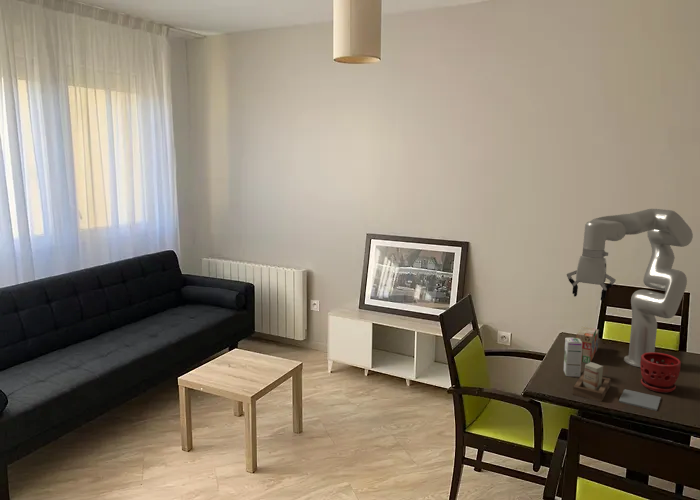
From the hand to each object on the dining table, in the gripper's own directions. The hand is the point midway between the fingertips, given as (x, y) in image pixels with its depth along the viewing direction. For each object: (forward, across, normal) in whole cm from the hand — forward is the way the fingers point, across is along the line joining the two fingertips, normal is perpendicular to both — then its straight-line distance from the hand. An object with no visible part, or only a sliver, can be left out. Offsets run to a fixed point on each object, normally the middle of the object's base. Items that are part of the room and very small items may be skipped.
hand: (588, 297), depth 209 cm
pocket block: (+33, -6, +9) cm, 35 cm away
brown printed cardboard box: (+32, +3, -31) cm, 45 cm away
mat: (+33, -22, +9) cm, 40 cm away
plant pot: (+32, -26, -7) cm, 42 cm away
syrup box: (+33, +4, -4) cm, 34 cm away
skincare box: (+33, -6, +9) cm, 35 cm away
